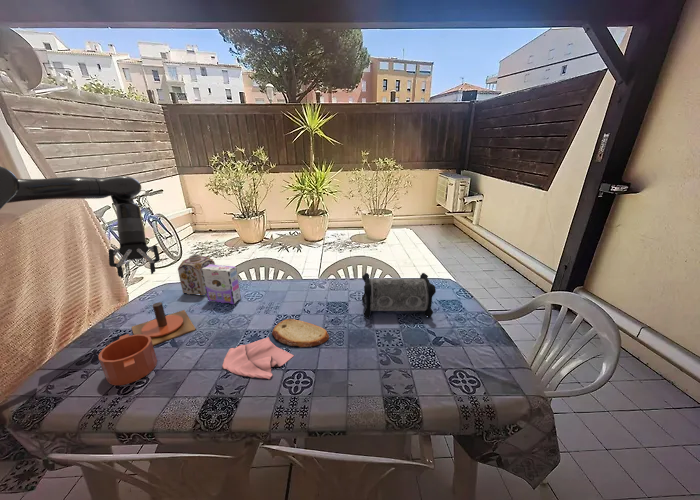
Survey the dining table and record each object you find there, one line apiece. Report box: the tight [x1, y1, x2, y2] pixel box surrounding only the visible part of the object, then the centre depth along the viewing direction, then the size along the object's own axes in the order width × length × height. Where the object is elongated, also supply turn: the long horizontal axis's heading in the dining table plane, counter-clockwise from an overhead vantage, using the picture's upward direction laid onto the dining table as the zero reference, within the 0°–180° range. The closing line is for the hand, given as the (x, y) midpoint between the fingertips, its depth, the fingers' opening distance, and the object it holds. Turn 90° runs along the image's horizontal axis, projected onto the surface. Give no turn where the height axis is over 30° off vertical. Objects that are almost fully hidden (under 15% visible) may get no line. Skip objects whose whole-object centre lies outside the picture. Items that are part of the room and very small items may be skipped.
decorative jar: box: [177, 254, 216, 296], centre depth 131 cm, size 12×12×18 cm
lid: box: [141, 301, 183, 337], centre depth 102 cm, size 13×13×10 cm
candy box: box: [202, 264, 242, 305], centre depth 122 cm, size 14×6×16 cm, turn 77°
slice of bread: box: [271, 318, 330, 348], centre depth 100 cm, size 18×18×4 cm
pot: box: [98, 333, 158, 386], centre depth 83 cm, size 12×18×8 cm
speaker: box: [361, 272, 437, 319], centre depth 115 cm, size 15×29×15 cm, turn 91°
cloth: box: [221, 336, 295, 380], centre depth 88 cm, size 20×22×2 cm
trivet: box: [131, 309, 197, 347], centre depth 104 cm, size 18×18×1 cm
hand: (137, 275), depth 97 cm, fingers open, 8 cm apart
